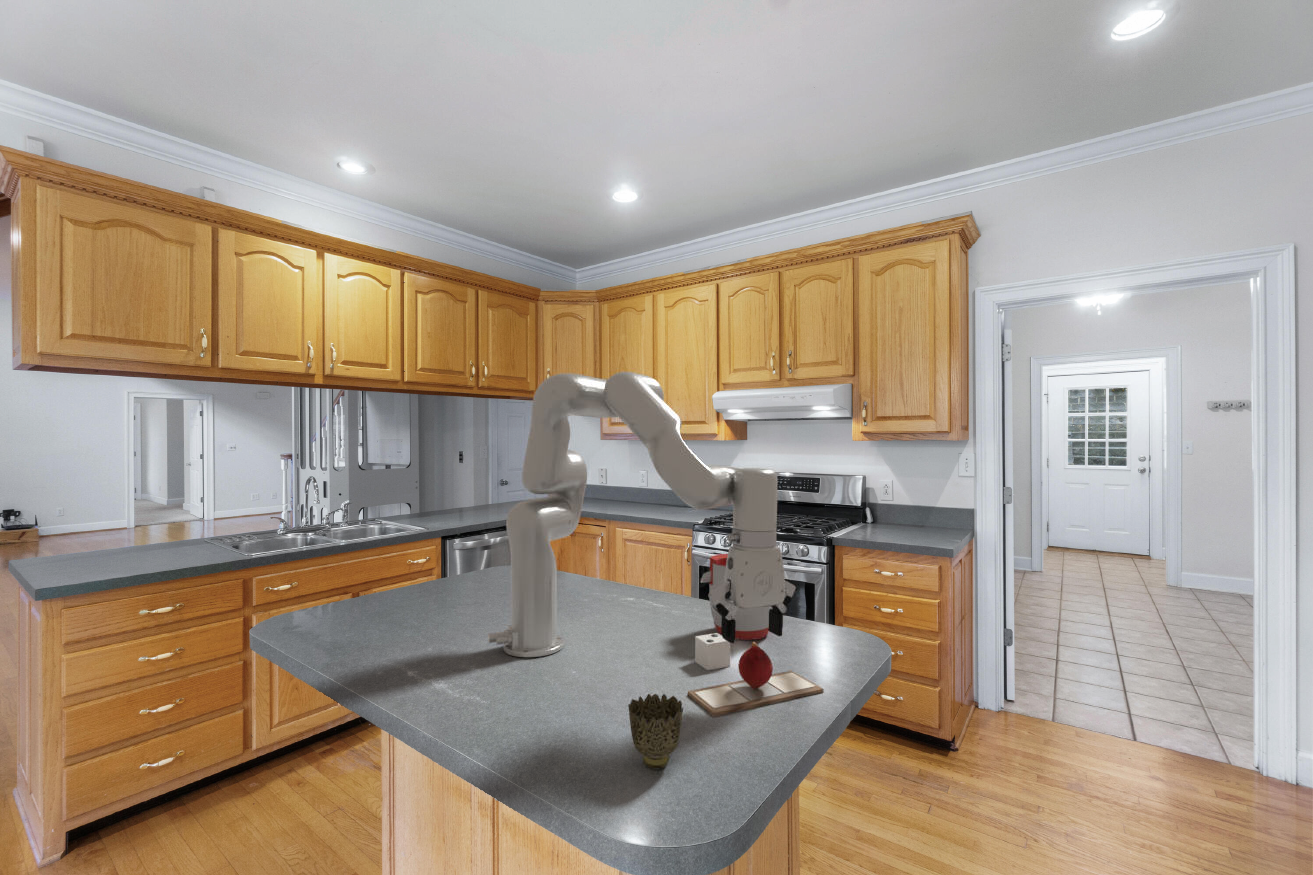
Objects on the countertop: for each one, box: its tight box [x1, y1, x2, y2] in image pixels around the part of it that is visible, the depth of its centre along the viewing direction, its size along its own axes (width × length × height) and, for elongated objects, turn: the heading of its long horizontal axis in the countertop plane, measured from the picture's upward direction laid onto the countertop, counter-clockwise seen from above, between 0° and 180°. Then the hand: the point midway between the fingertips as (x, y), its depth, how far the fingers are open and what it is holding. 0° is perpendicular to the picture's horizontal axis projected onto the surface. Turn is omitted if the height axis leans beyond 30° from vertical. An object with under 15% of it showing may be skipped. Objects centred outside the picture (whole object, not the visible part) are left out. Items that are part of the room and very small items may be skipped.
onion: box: [738, 641, 774, 689], centre depth 100 cm, size 6×6×8 cm
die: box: [694, 632, 731, 671], centre depth 114 cm, size 5×5×5 cm
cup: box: [628, 693, 684, 770], centre depth 78 cm, size 8×7×8 cm
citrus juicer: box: [700, 553, 772, 641], centre depth 133 cm, size 16×17×20 cm
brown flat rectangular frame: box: [687, 670, 825, 717], centre depth 100 cm, size 22×9×1 cm, turn 114°
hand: (752, 637), depth 101 cm, fingers open, 9 cm apart
